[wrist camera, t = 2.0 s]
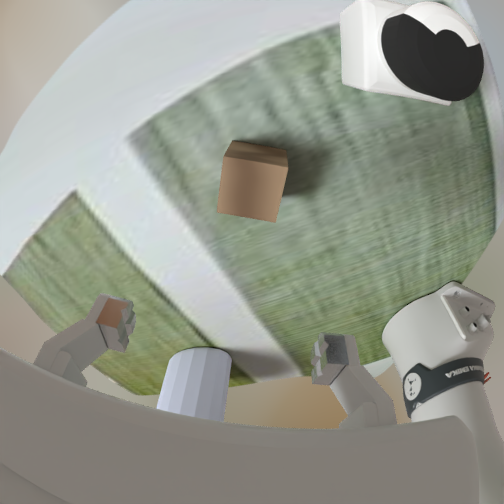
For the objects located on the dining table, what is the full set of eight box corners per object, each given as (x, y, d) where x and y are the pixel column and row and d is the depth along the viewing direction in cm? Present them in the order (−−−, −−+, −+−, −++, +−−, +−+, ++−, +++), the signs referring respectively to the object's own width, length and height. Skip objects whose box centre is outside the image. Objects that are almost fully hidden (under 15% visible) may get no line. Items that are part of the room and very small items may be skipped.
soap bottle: (212, 338, 43) (189, 464, 27) (243, 363, 47) (231, 476, 30) (158, 356, 48) (130, 457, 32) (189, 377, 52) (169, 471, 36)
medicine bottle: (412, 94, 20) (493, 124, 11) (340, 84, 21) (392, 101, 11) (412, 25, 16) (494, 16, 6) (338, 11, 17) (387, -25, 7)
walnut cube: (286, 149, 25) (288, 167, 21) (275, 196, 28) (275, 222, 24) (232, 140, 25) (223, 156, 21) (225, 188, 28) (216, 212, 24)
